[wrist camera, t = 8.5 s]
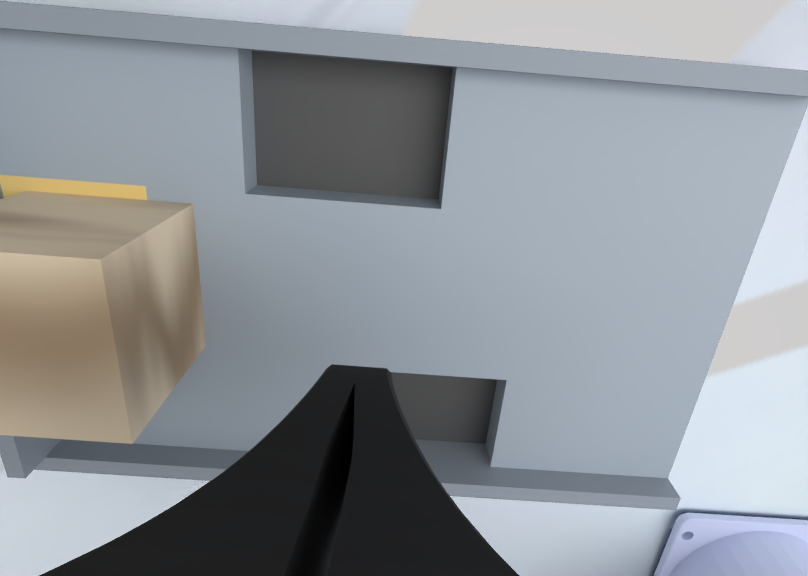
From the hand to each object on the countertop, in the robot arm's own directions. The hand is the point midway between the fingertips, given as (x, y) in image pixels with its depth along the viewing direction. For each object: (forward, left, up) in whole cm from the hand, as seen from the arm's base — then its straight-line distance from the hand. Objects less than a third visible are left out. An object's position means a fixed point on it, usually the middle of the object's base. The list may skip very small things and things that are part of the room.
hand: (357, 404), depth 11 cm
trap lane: (0, 0, -7) cm, 7 cm away
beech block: (0, +8, -6) cm, 10 cm away
